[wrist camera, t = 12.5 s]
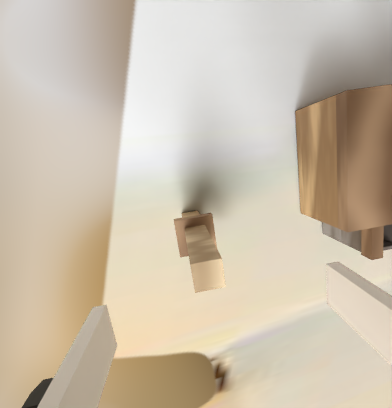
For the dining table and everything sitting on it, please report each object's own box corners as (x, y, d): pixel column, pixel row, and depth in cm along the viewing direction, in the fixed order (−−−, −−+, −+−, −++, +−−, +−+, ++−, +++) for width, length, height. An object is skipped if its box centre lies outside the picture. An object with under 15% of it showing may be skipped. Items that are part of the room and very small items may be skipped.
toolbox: (374, 100, 32) (438, 80, 24) (372, 224, 36) (427, 241, 28) (295, 111, 31) (335, 94, 24) (302, 237, 35) (338, 259, 27)
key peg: (203, 202, 33) (233, 243, 17) (207, 231, 33) (239, 295, 17) (173, 207, 32) (174, 254, 16) (178, 236, 33) (184, 306, 17)
